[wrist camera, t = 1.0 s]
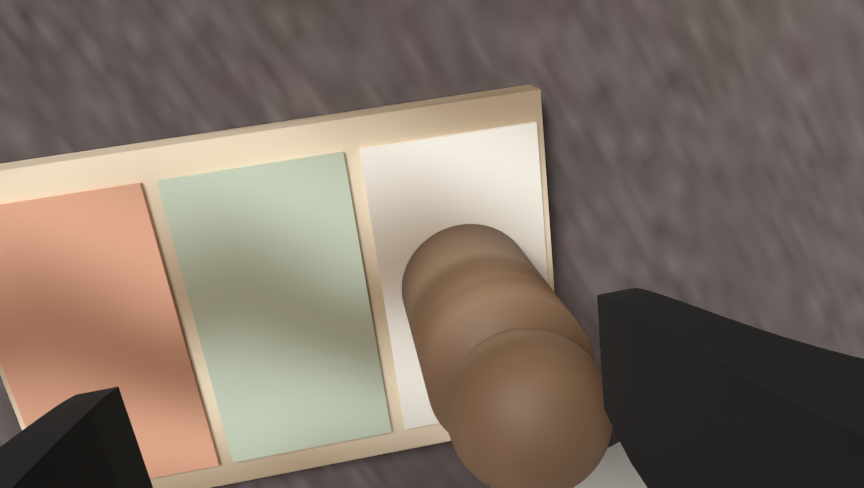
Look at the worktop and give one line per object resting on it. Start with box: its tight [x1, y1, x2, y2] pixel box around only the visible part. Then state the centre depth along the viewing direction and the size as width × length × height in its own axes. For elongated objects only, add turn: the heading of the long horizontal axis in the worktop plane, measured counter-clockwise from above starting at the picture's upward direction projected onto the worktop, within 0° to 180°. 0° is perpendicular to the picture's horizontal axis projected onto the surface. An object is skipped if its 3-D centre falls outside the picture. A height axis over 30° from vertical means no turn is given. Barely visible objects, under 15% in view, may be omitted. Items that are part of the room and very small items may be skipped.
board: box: [0, 85, 554, 488], centre depth 20 cm, size 10×15×1 cm, turn 97°
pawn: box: [402, 224, 613, 488], centre depth 16 cm, size 4×4×8 cm
